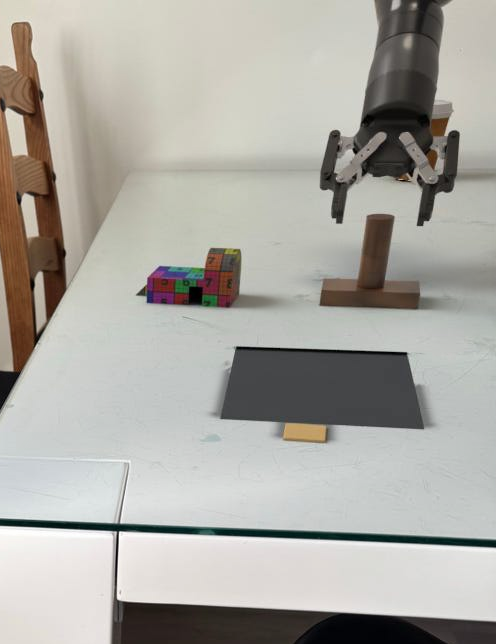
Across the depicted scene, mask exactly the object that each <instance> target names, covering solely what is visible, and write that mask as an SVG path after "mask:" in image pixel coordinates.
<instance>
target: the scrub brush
mask: <svg viewBox="0 0 496 644" xmlns="http://www.w3.org/2000/svg"><path fill="white" fill-rule="evenodd" d="M395 219H396V216H395V215H393V214H390V213H372V214H368V215H366V218H365V225H364V234H363V239H362V246H361V253H360V259H359V268H358V274H357V278H326V277H324V278H323V279H322V284H321V289H320V297H319V304H318V305H319V307H345V308H370V309H371V308H372V309H399V310H418V309H419V302H420V297H421V288H420V287H421V286H420V281H419V280H396V279H395V280H393V279H392V280H391V279H386V277H387V270H388V264H389V263H388V262H389V257H390V252H391V251H390V250H391V245H392V239H393V232H394V225H395Z"/></svg>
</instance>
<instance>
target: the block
mask: <svg viewBox="0 0 496 644" xmlns="http://www.w3.org/2000/svg"><path fill="white" fill-rule="evenodd" d="M241 273H242V250H241V248H230V247H228V248H227V247H210V248H209V250H208V252H207V255H206V259H205V263H204V267H193V266H192V267H191V266H190V267H189V266H172V265H159V266H158V267H156V268H155V270H154V271H152V272H151V273H150V274H149V275H148V276H147V277H146V284H145V285H144V286H143V287H142V288H141V289H140V290H139V291H138V292H137V293H136V294H135V296H137V297H138V296H139V297H146V304H159V305H178V306H189V305H190V293H191V292H190V291H191V288H195V289H198V293H200V294H201V293H202V297H201V299H202V300H201V307H213V308H229V309H230V308H231V307H232V306H233V304H234V303H235V301H236V299H237V298H238V297H239V295H240V290H241V289H240V287H241V275H242V274H241Z"/></svg>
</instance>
